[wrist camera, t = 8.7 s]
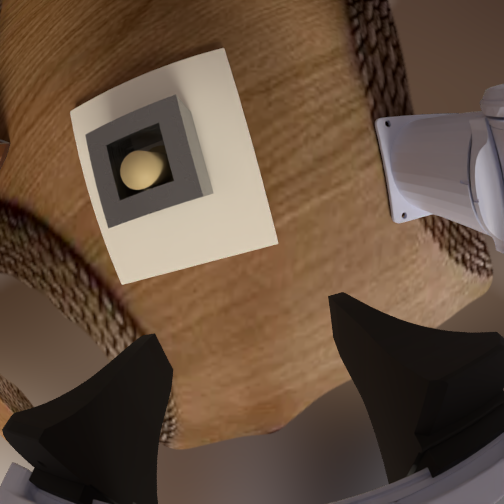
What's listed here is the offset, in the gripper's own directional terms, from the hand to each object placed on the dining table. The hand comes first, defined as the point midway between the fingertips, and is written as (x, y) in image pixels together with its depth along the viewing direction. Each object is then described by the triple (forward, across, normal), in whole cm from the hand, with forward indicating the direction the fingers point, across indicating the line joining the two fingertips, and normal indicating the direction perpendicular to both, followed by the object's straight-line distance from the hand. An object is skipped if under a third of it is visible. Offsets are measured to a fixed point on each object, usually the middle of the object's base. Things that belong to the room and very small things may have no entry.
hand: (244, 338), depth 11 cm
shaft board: (+10, +4, -8) cm, 13 cm away
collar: (+9, +4, -8) cm, 12 cm away
